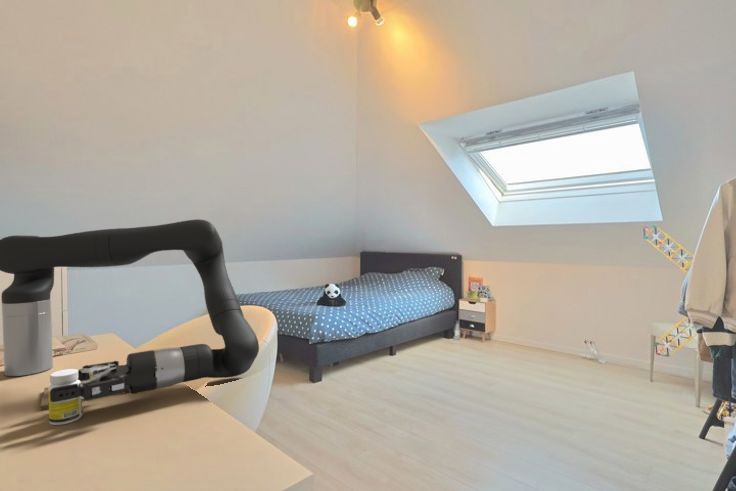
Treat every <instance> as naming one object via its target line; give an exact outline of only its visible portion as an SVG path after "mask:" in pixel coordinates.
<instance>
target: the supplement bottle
mask: <svg viewBox="0 0 736 491" xmlns="http://www.w3.org/2000/svg"><path fill="white" fill-rule="evenodd" d="M78 370H79V369H76V368H67V369H61V370H57V371H54V372H51V374H49V382H50V385H49V386H48V387H49V388H48V400H49V409H48V418H49V419H48V421H49V424H50V425H51V426H52V425H53V426H61V425H66V424H71V423H73V422H76V421H78V420H79V419H81V418H82V416H83V413H84V412H83V399H80V398H79V396H78V397H77V398H72V399H67V400H62V401H57V402H51V401H50V390H51V389H52V388H55V387H60V386H66V385H71V384H77V383H78V386H79V383H81V381H80V380H78Z"/></svg>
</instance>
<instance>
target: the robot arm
mask: <svg viewBox="0 0 736 491" xmlns="http://www.w3.org/2000/svg"><path fill="white" fill-rule="evenodd" d="M163 251H183V252H184V254H185V255H186V257H187V258H188V259H189V260H191V262H192V264H193V266H194V267H195V269H196V270H197V273H198V274H199V277H200V280H201V281H202V285H203V291H204V292H203V293H204V301H205V302H204V303H205V306H206V310H207V313H208V316H209V319H210V320H209V321H210V322H211V326H212V327H213V330H214V332H215V333H216V334H218V335H219V336H222V340H223V342H224V347H222V348H213V349H212V348H211V347H210V346H209V345H208V344H206V343H198V344H191V345H184V346H179V347H178V346H177V347H164V348H158V349H151V350H145V351H138V352H137V351H136V352H132V353H129V354H128V355H127V356H126V364H119V363H120V362H119V360H114V361H109V362H108V361H107V362H103V363H102V362H101V363H95V364H87V365H84V366H82V367H81V368H79V369H77V370H78V380H80V381H81V383H79V386H78V383H77V384H71V385H66V386H60V387H55V388H52V389H51V390H50V401H51V402H57V401H62V400H67V399H72V398H77V397H78V396H79V398H80V399H82V400H83V401H84V402H89V401H92V400H96V399H97V400H98V399H101V398H107V397H111V396H115V395H120V394H123V393H124V392H125V386H126V385H128V390H129V394H130V395H133V394H134V395H135V394H141V393H145V392H149V391H153V390H159V389H164V388H169V387H172V386H175V385H176V386H177V385H178V384H181V383H187V382H191V381H197V380H201V379H203V378H204V379H205V378H209V379H219V378H223V379H224V378H233V377H238V376H240V375H243V374H245V373H246V372H248V370H250V368H251V367H252V366H253V363H254V362H255V360H256V358H257V357H258V354H259V352H260V344H259V339H258V337H257V335H256V333H255V331H254V330H253V328H252V327H251V325H250V323H249V322H248V321H247V319H246V318H245V316H244V313H243V310H242V308H241V305H240V302H239V299H238V297H237V295H236V292H235V289H234V287H233V286H232V282H231V280H230V278H229V274H228V270H227V267H226V261H225V255H224V254H225V253H224V248H223V240H222V239H221V236H220V233H218V230H217V229H216V227H215V225H214V224H213V223H212V222H211V221H209V220H205V219H189V220H182V221H176V222H171V223H165V224H158V225H147V226H146V225H145V226H137V227H127V228H126V227H122V228H120V227H119V228H106V229H97V230H88V231H86V230H85V231H80V232H74V233H68V234H67V233H66V234H62V235H57V236H56V235H53V236H39V235H9V236H5V237H2V238H0V272H3V273H6V274H11V275H13V280H12V282H11V284H10V285H9V286H8V287H7V288H5V289H4V290H2V292H1V313H2V314H1V316H2V319H1V320H2V342H3V346H2V347H3V368H4V376H6V377H19V376H29V375H34V374H38V373H41V372H45V371H48V370H50V369H52V368H53V367H54V366H53V365H54V358H53V355H54V354H53V328H52V307H51V306H52V303H51V302H52V301H51V292H52V290H53V287H54V285H55V268H106V267H108V268H109V267H120V266H129V265H132V264H134V263H136V262H138V261H140V260H142V259H144V258H146V257H147V256H149V255H151V254H153V253H157V252H158V253H159V252H163ZM100 388H101V389H100ZM124 394H125V393H124Z"/></svg>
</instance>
